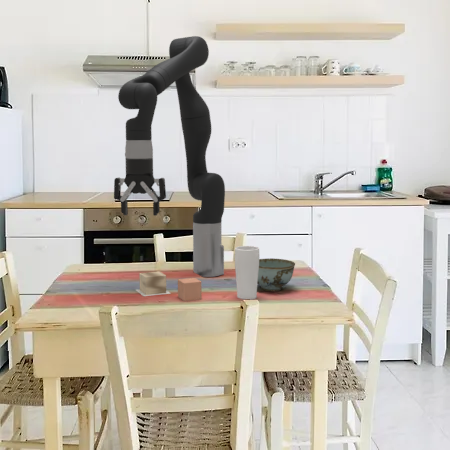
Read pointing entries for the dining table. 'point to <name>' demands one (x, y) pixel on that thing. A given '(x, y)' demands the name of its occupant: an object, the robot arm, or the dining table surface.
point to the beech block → (152, 283)
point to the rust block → (189, 289)
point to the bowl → (274, 273)
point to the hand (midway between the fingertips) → (140, 215)
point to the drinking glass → (247, 271)
